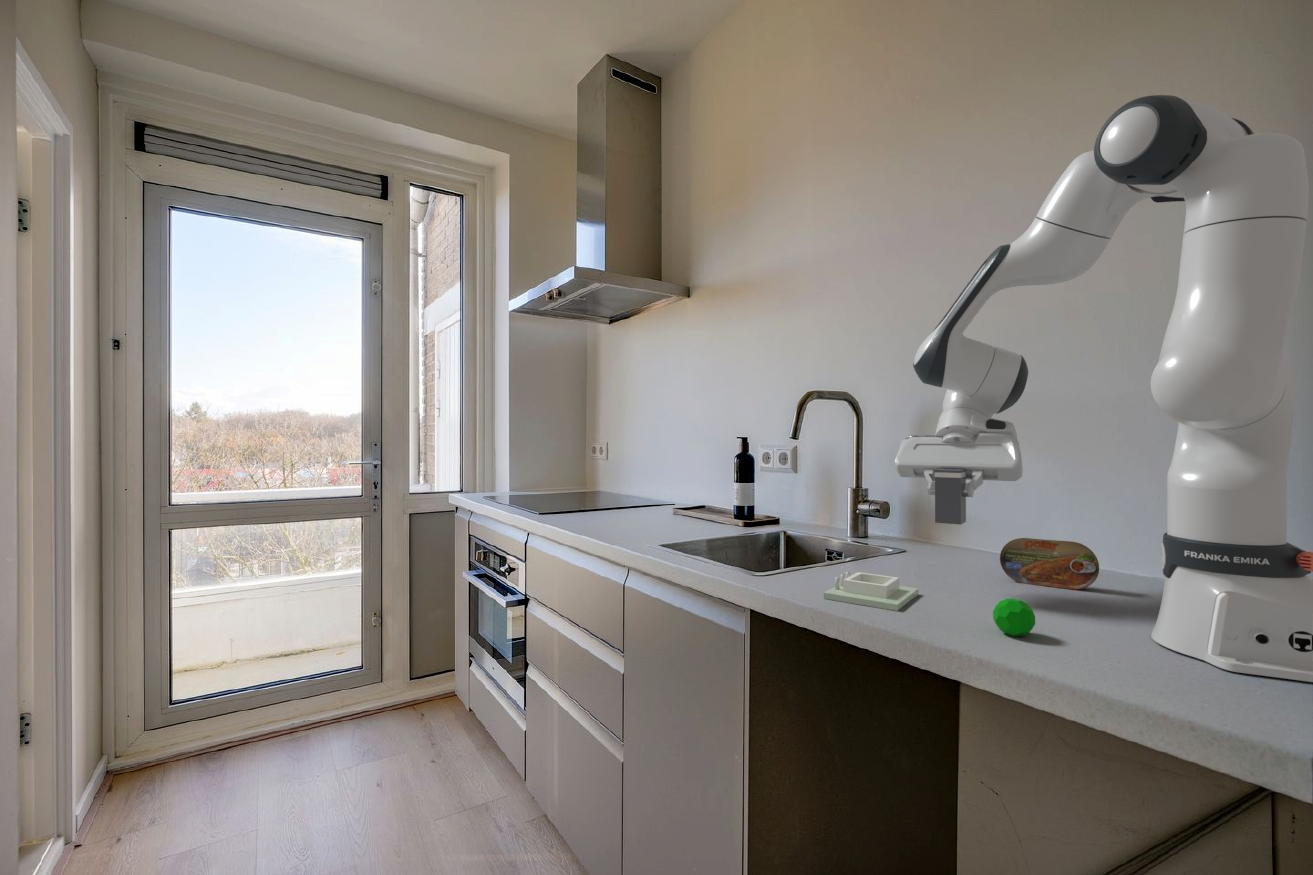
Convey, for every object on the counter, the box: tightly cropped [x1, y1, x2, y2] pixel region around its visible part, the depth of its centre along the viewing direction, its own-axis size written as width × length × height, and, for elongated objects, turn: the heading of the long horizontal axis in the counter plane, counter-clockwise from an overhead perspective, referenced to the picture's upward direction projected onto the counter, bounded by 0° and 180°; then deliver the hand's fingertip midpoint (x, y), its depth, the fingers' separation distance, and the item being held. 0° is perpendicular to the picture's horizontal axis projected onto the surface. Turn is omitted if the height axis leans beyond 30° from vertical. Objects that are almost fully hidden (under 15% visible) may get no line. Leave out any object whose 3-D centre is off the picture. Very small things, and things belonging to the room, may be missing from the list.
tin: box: [999, 537, 1100, 591], centre depth 109 cm, size 15×3×8 cm, turn 51°
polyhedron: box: [992, 598, 1036, 637], centre depth 83 cm, size 5×5×5 cm
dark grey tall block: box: [934, 469, 967, 526], centre depth 103 cm, size 4×4×9 cm
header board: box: [823, 571, 919, 612], centre depth 103 cm, size 12×12×3 cm
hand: (949, 493), depth 103 cm, fingers closed on dark grey tall block, 4 cm apart
